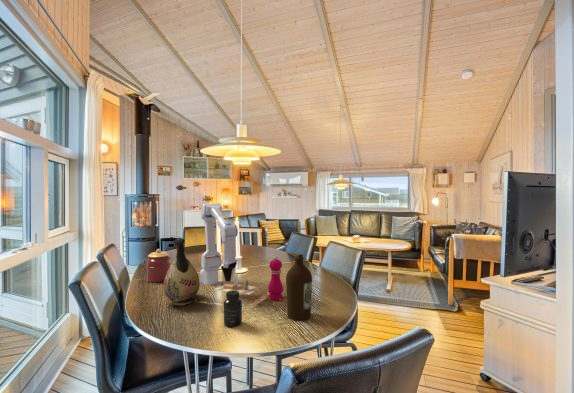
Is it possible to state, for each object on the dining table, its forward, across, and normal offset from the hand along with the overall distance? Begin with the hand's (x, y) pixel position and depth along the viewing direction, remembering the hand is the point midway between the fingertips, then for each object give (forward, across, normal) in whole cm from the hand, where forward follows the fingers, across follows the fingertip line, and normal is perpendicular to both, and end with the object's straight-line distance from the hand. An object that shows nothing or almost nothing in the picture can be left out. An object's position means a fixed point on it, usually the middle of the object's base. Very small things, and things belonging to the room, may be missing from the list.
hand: (229, 279), depth 140 cm
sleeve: (+1, 0, 0) cm, 1 cm away
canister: (+9, +29, +47) cm, 56 cm away
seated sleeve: (+7, +11, +2) cm, 13 cm away
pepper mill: (+9, 0, -22) cm, 24 cm away
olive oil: (+9, -20, -33) cm, 39 cm away
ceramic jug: (+9, -7, +20) cm, 23 cm away
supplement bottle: (+9, -28, -8) cm, 30 cm away
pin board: (+9, +10, -2) cm, 13 cm away
